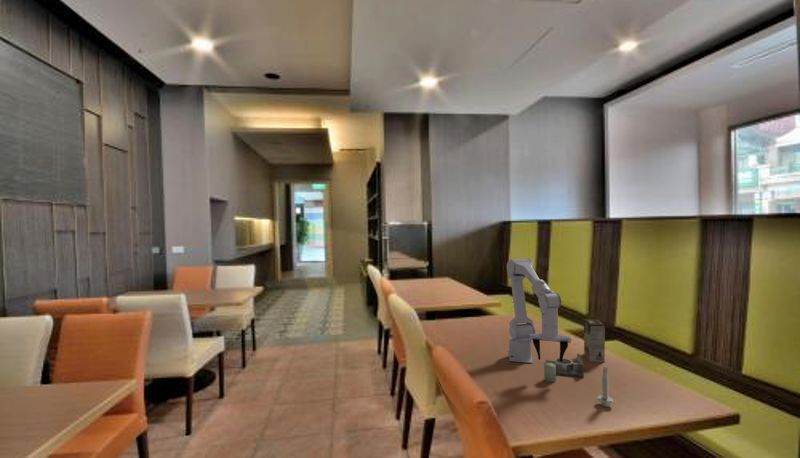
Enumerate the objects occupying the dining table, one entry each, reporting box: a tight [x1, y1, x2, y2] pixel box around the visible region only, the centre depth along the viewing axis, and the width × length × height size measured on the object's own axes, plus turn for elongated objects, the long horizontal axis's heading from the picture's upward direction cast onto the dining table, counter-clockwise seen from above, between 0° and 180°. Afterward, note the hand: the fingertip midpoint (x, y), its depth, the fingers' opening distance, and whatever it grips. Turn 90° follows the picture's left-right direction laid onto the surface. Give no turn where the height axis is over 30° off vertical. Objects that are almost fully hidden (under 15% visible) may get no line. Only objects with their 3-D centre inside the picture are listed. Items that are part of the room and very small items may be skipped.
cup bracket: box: [545, 353, 585, 378], centre depth 153 cm, size 13×12×5 cm
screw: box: [596, 366, 614, 408], centre depth 124 cm, size 13×5×5 cm
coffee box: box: [583, 318, 606, 363], centre depth 165 cm, size 9×6×16 cm
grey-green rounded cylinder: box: [543, 362, 557, 384], centre depth 143 cm, size 4×4×6 cm
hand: (550, 359), depth 143 cm, fingers open, 7 cm apart
